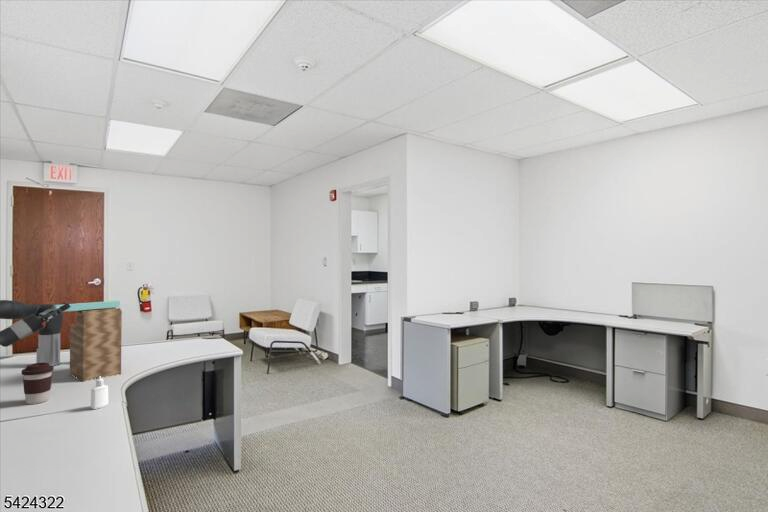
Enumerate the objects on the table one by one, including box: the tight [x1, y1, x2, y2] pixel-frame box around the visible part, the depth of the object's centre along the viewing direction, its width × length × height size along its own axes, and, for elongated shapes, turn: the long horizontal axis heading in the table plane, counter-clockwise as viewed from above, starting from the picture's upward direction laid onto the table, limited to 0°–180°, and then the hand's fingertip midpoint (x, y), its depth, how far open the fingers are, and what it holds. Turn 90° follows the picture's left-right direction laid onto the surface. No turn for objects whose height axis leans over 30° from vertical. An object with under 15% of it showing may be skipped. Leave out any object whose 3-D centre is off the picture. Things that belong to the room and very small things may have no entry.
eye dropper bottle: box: [90, 376, 109, 410], centre depth 159 cm, size 4×6×12 cm
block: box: [53, 300, 121, 313], centre depth 198 cm, size 26×4×3 cm, turn 142°
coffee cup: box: [21, 363, 55, 405], centre depth 165 cm, size 10×10×15 cm
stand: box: [69, 307, 123, 382], centre depth 205 cm, size 16×20×33 cm
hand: (67, 304), depth 192 cm, fingers closed on block, 4 cm apart
